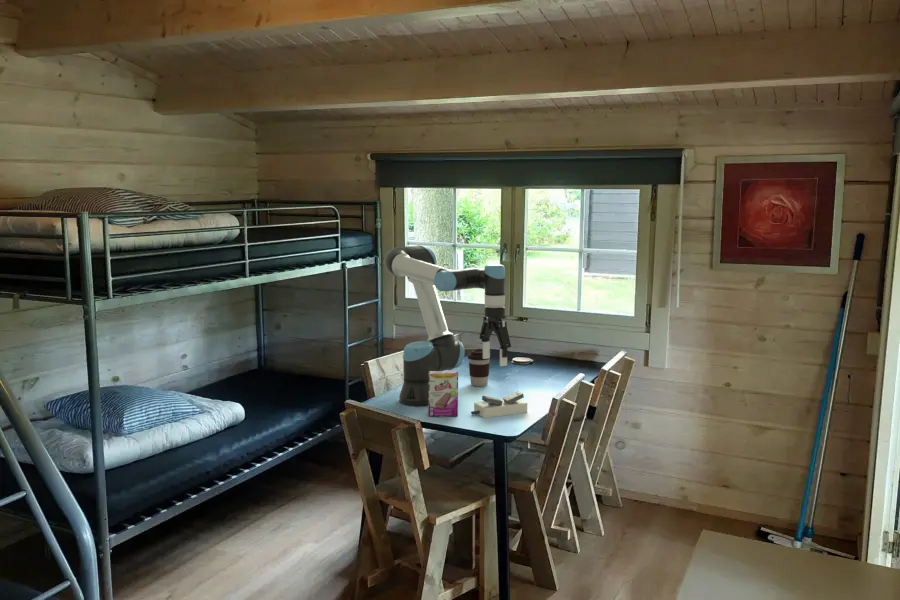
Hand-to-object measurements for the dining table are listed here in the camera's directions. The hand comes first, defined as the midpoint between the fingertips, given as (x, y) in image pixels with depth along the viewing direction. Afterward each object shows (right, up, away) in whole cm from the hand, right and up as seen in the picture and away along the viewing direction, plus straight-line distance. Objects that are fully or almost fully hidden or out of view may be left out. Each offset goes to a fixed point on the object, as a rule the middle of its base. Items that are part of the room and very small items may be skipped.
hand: (494, 362), depth 275 cm
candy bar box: (-19, -20, -1) cm, 28 cm away
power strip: (+1, -19, +2) cm, 19 cm away
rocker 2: (+7, -14, +2) cm, 16 cm away
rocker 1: (-1, -14, -1) cm, 14 cm away
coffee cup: (-4, -14, +42) cm, 45 cm away
